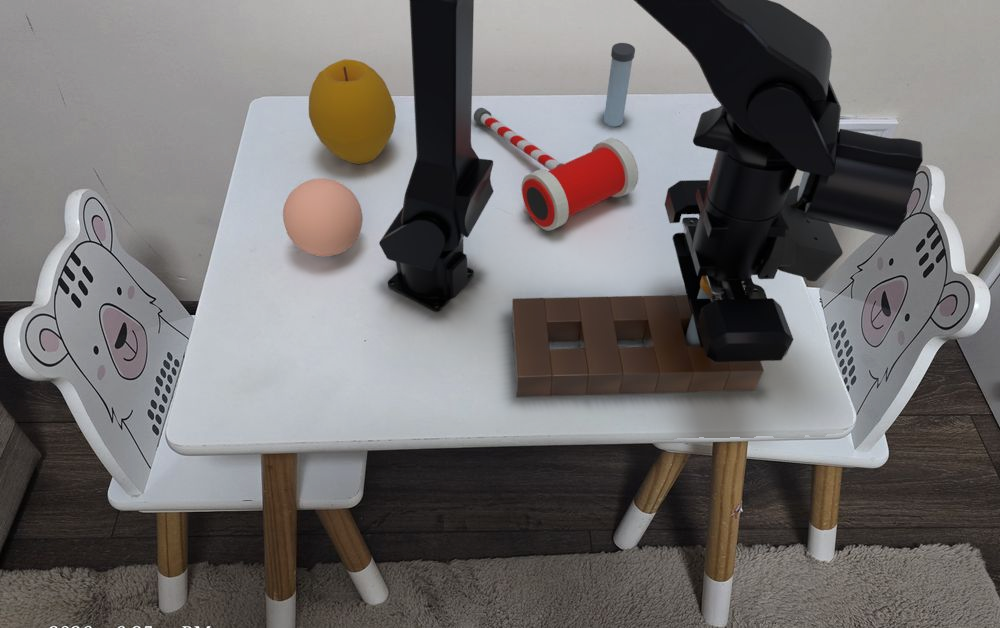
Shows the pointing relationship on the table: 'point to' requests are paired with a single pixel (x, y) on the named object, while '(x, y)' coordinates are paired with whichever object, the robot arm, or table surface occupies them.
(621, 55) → the tube grey
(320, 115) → the apple
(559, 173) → the toy hammer
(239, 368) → the table surface
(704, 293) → the orange-capped peg
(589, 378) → the rack
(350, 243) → the toy ball
